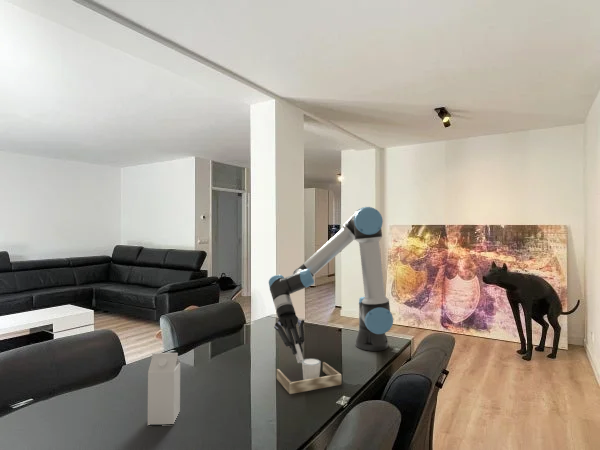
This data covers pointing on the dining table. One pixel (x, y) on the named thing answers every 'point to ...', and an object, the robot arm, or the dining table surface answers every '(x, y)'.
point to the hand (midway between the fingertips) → (300, 361)
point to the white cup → (311, 368)
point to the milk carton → (163, 388)
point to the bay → (311, 381)
